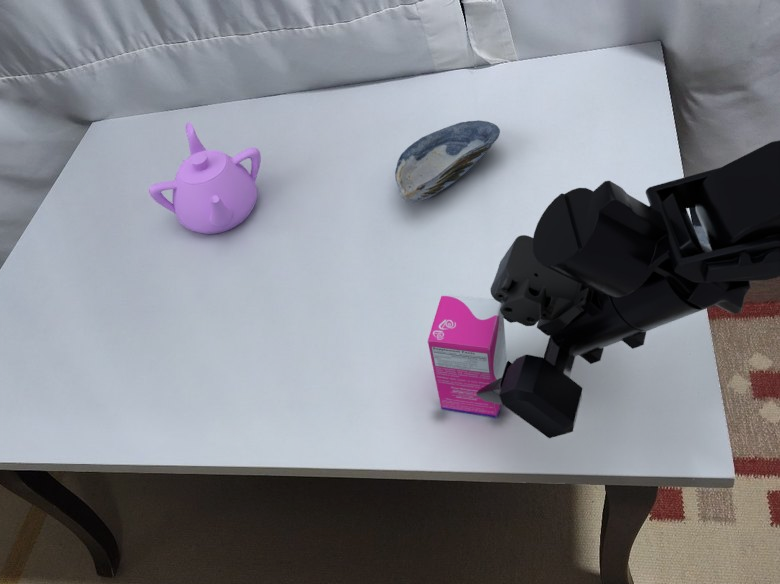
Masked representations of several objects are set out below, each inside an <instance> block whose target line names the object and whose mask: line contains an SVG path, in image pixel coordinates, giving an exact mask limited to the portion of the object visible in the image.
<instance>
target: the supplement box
mask: <svg viewBox="0 0 780 584" xmlns="http://www.w3.org/2000/svg"><path fill="white" fill-rule="evenodd" d="M500 308H501V303H500V302H498V301H496V300H495V299H494V298H489V297H474V296H466V295H465V296H464V295H455V294H454V295H453V294H452V295H451V294H441V295H440V298H439V302H438V306H437V309H436V312H435V315H434V318H433V322H432V325H431V327H430V328H431V329H430V332H429V335H428V339H427V344H428V349H429V354H430V360H431V364H432V365H431V366H432V369H433V376H434V379H435V384H436V385H435V386H436V389H437V394H438V399H439V404H440V405H439V406H440V409H441V410H444V411H451V412H456V413H463V414H469V415H476V416H483V417H487V418H494V419H497V418H498V417H499V414H500V411H501V408H502V405H501V404H496V403H491V402H487V401H484V400H482V399H481V398H479V397H478V396H477V395H476V394H477V391H478V390H480V389H481V388H483V387H484V386H486V385H488V384H490V383H492V382H494V381H496V380H498V379H500V378H502V376H503V373H504V370H505V366H506V363H507V361H508V359H507V358H508V357H507V345H506V344H507V343H506V329H505V319H504V316H503V315H502V314H501V312H500Z"/></svg>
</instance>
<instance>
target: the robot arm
mask: <svg viewBox="0 0 780 584" xmlns="http://www.w3.org/2000/svg"><path fill="white" fill-rule="evenodd" d="M645 196H646V198H647V201H648V204H649V205H647V204H646V203H644V202H642V201H640V200H638V199H637V198H635V197H633V196H631V194H629V193H628V192H626V191H625V190H624V188H623V187H622V186H620V185H618V184H616V183H614V182H613V181H611V180H605V181H603V182H602V183H601V184H600V185H599V186H598V187H596V189H595V188H594V190H592V189H589V188H587V187H577V188H573V189H570V190H569V191H567V192H565V193H563V192H562V193H560V194H559V195H558V196H556V197H555V198H554V199H553V200H552V201H551V203H549V205H548V206H547V207H546V209H545V210H544V211H543V213H542V214H541V216H540V218H539V220H538V222H537V223H536V227H535V230H534V232H533V237H532V236H529V235H525V234H522V235H518V236H517V237H516V238H515V239H514V241H513V242H512V244H510V246H509V248H508V250H507V251H506V252H505V254H504V255H503V257H502V258H501V260H500V261H499V264H498V267H497V271H496V273H495V276H494V279H493V282H492V283H491V286H490V295H491V297H492V299H495V300H496V301H498V302H500V303H501V308H500V312H501V314H502V315H503V316H504V320H505V321H507V322H508V323H510V324H512V323H518V324H521V325H523V326H525V327H533V326H536V329H538V330H539V331H540V332H541V333H543V334H544V335H545V336H547V337H549V338H548V341H547V344H546V348H545V350H544V351H545V352H544V354H543V357H542V356H537V355H531V354H524V355H521V356H519V357H516V358H515V360H514V361H513V362H511V361H510V360H507V363H506V366H505V370H504V373H503V376H502V378H500V379H498V380H496V381H494V382H492V383H490V384H488V385H486V386H484V387H483V388H481V389H480V390H478V391H477V394H476V395H477V396H478V397H479V398H481V399H482V400H484V401H487V402H491V403H496V404H501V406H504V407H506V408H507V409H508V410H510V411H511V412H512V413H513V414H515V415H516V416H518V417H519V418H520V419H522V420H523V421H524V422H526V423H527V424H529V425H530V426H531V427H533V428H534V429H535V430H537V431H538V432H540V433H541V434H542V435H544V436H545V437H546V438H548V439H552V438H555V437H559V436H563V435H567V434H570V433H573V432H574V429H575V426H576V422H577V418H578V414H579V410H580V406H581V402H582V399H583V392H584V391H583V390H584V387H582V385H580V384H579V383H578V382H576V381H574V380H573V379H572V378H571V374H572V371H573V367H574V364H575V360H576V357H578V356H580V357H581V358H582V359H583V360H585V361H586V362H587V363H588V364H590V365H593V364H595V363H598V362H601V360H602V356H603V352H604V350H605V349H604V348H606V347H607V348H608V347H609V346H612V345H614V344H618V343H620V342H623V343H625V344H626V345H627V346H628V347H629V348H631V349H632V350H633V349H636V348H638V347H642V346H644V345H645V341H646V335H647V332H648V331H651V330H654V329H657V328H660V327H661V326H665V325H667V324H670V323H672V322H675V321H678V320H680V319H683V318H686V317H688V316H691V315H693V314H696V313H698V312H701V311H704V310H706V309H709V308H711V307H713V306H716V307H719V308H721V309H722V310H725V311H727V312H729V313H730V314H734V315H737V314H740V313H742V312H743V307H744V306H743V305H744V301H745V298H746V296H747V293H748V292H749V291H750V290H751V285H752V284H751V282H752V281H753V282H754V281H769V280H773V279H778V278H779V277H780V139H779V140H773V141H770V142H768V143H766V144H764V145H762V146H761V147H758V148H756V149H754V150H752V151H750V152H749V153H746V154H744V155H743V156H740V157H739V158H736V159H735V160H733V161H730V162H729V163H727V164H724V165H723V166H721V167H717V168H714V169H710V170H705V171H703V172H699V173H695V174H692V175H687V176H684V177H680V178H677V179H673V180H671V181H667V182H662V183H660V184H659V183H658V184H656V185H653V186H649V187H647V189H646V190H645ZM688 209H695V213H696V216H697V218H698V220H699V222H700V223H699V224H700V225H701V227H702V230H703V232H704V235H705V237H706V239H707V242H708V244H709V246H710V247H709V246H707V245H706V244H704V243H702V242H700V239H699V237H698V235H697V232H696V229H695V226H694V225H693V222H692V219H691V217H690V214H689V212H688Z"/></svg>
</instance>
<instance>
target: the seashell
mask: <svg viewBox="0 0 780 584" xmlns="http://www.w3.org/2000/svg"><path fill="white" fill-rule="evenodd" d="M500 134H501V129H500V127H499V126H498V125H497V124H495V123H492V122H490V121H487V120H468V121H461V122H458V123H454V124H452V125H450V126H446V127H443V128H440V129H439V130H436V131H433V132H431V133H429V134H426V135H424V136H422V137H420V138H419V139H418V140H416V141H414V142H412V144H411V145H409V146H408V147H407V148H406V149H405V150H404V151H403V152H402V153H401V154H400V156H399V158H398V160H397V162H396V168H395V170H394V171H395V172H394V176H395V177H394V178H395V182H396V185H397V188H398V191H399V194H400V196H401V198H402V199H403V200H404V201H406V202H410V203H413V202H414V203H415V202H420V201H424V200H427V199H429V198H431V197H434V196H436V195H437V194H439V192H442V191H443V190H444V189H446V188H448V187H449V186H451V185H452V184H454V183H455V182H456V181H458V179H460V178H461V177H462V176H464V175H465V174H466V173H467V172H468V171H470V169H472V168H473V167H474V166H475V165H476V164H477V162H478V161H479V160H480V159H481V158H482V157H484V156H485V155H486V153H487V152H488V151H489V150H490V149H491V147H492V146H493V145H494V144H495V142H496V141H497V140H498V139H499V137H500Z"/></svg>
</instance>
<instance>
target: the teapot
mask: <svg viewBox="0 0 780 584" xmlns="http://www.w3.org/2000/svg"><path fill="white" fill-rule="evenodd" d="M184 130H185V133H186V137H187V141H188V146H189V154H190V156H188V157H187V158H185V160H183V161H182V162H181V164H180V165H179V166H178V168H177V171H176V173H175V178H174V180H168V181H160V182H156V183H154V184H152V185H151V186H149V188H148V193H149V195H150V197H151V198H152V200H153V201H155V202H156V203H157V204H158V205H160V206H162V208H164V209H166V210H169V211H170V212H172V213H174V214H175V216H176V218H177V221H178V223H180V225H182V227H184V228H186V229H187V230H189V231H192V232H194V233H198V234H204V235H216V234H220V233H221V234H222V233H224V232H228V231H229V230H232V229H234V228H236V227H238V226H239V225H241V223H243V222H244V221H245V220H246V219H247V218H248V217H249V216H250V214H251V213H252V211H253V210H254V207H255V205H256V203H257V199H258V187H257V184H256V181H257V176H258V174H259V171H260V167H261V163H262V156H261V151H260V150H259V148H258V147H254V146H253V147H248V148H246V149H243V150H242V151H240V152H238V153H237V154H236V155H234V156H230V155H228V154H227V153H225V152H223V151H220V150H218V149H217V150H216V149H207V148H206V147H205V146H204V144H203V143H202V141H200V138H199V137H198V134H197V133H196V130H195V127H194V125H193V124H192V123H191V122H186V123H185V129H184ZM247 159H250V161H251V164H250V165H251V169H250V172H249V170H248V169H247V168H246V167H245V166H244V165H243V164H241V162H243V161H245V160H247ZM169 190H172V202H171V201H170V200H169V199H167V198H166V196H164V195H163V193H162V192H163V191H164V192H165V191H169Z"/></svg>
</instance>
